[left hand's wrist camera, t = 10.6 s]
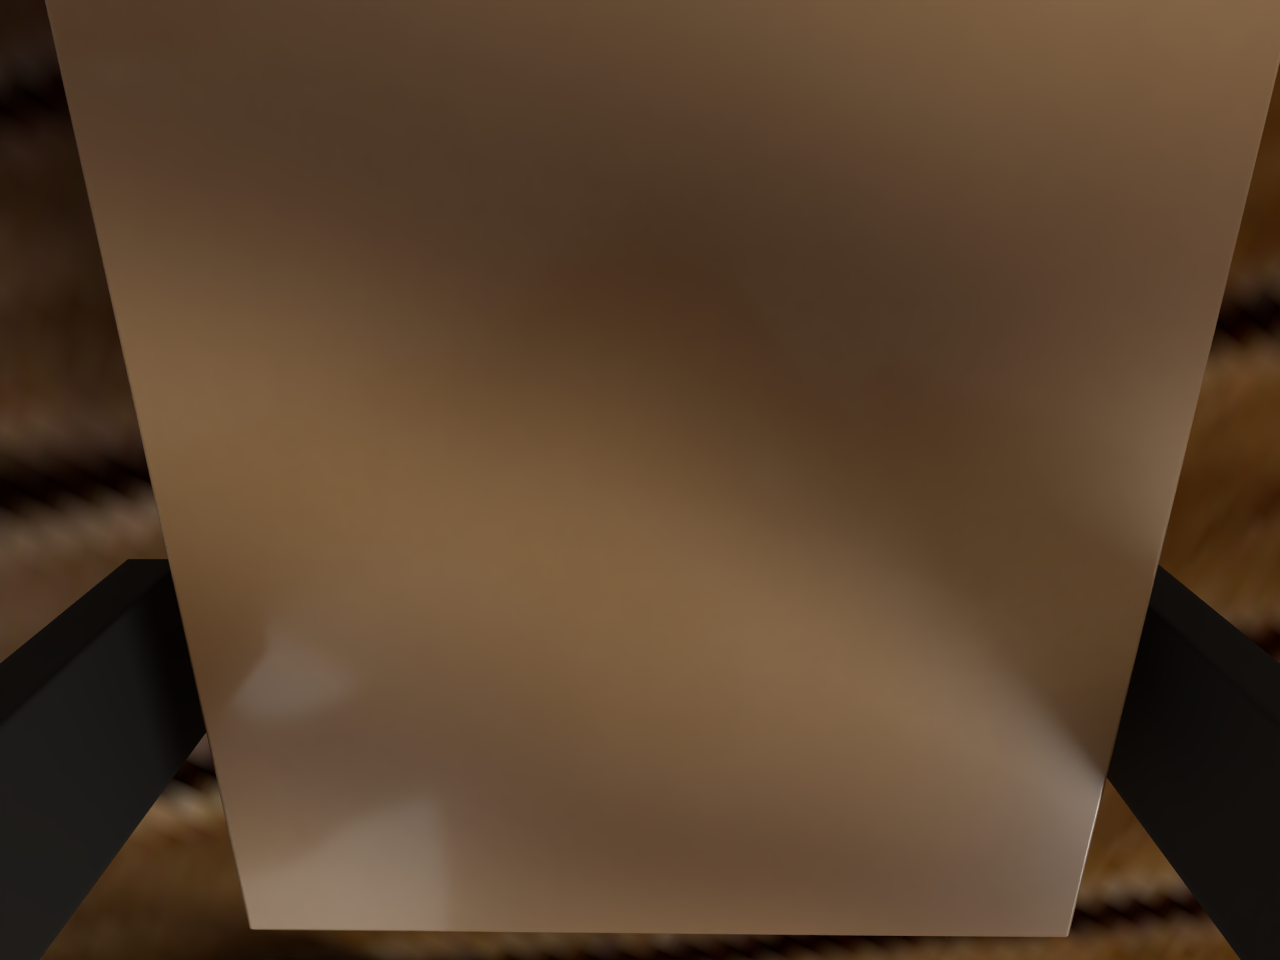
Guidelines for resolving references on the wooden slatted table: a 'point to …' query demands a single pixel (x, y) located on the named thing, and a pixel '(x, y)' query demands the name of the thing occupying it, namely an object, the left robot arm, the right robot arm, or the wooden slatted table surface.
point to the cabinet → (665, 434)
